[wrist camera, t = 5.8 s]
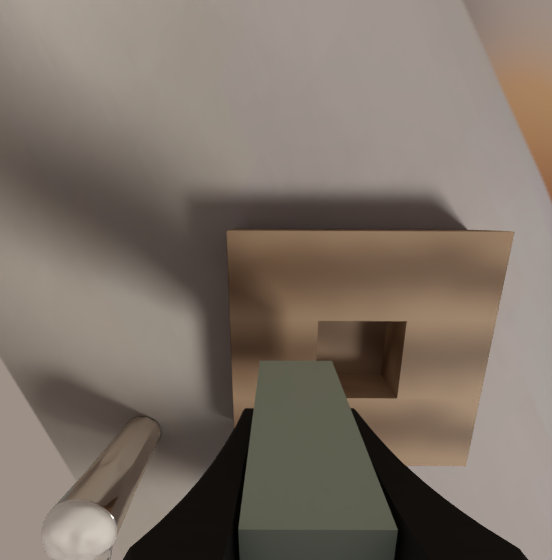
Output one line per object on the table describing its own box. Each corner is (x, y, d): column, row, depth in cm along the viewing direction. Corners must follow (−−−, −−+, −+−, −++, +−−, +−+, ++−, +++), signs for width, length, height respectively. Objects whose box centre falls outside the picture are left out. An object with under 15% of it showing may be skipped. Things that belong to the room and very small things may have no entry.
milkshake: (160, 461, 25) (85, 615, 15) (111, 435, 24) (0, 578, 15) (184, 430, 24) (121, 571, 14) (134, 401, 23) (32, 529, 14)
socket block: (435, 426, 24) (465, 465, 20) (242, 424, 24) (235, 464, 20) (467, 229, 20) (514, 231, 16) (236, 228, 20) (226, 230, 16)
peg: (328, 422, 15) (383, 636, 7) (261, 422, 15) (243, 635, 7) (331, 360, 14) (398, 530, 6) (260, 360, 14) (238, 529, 6)
